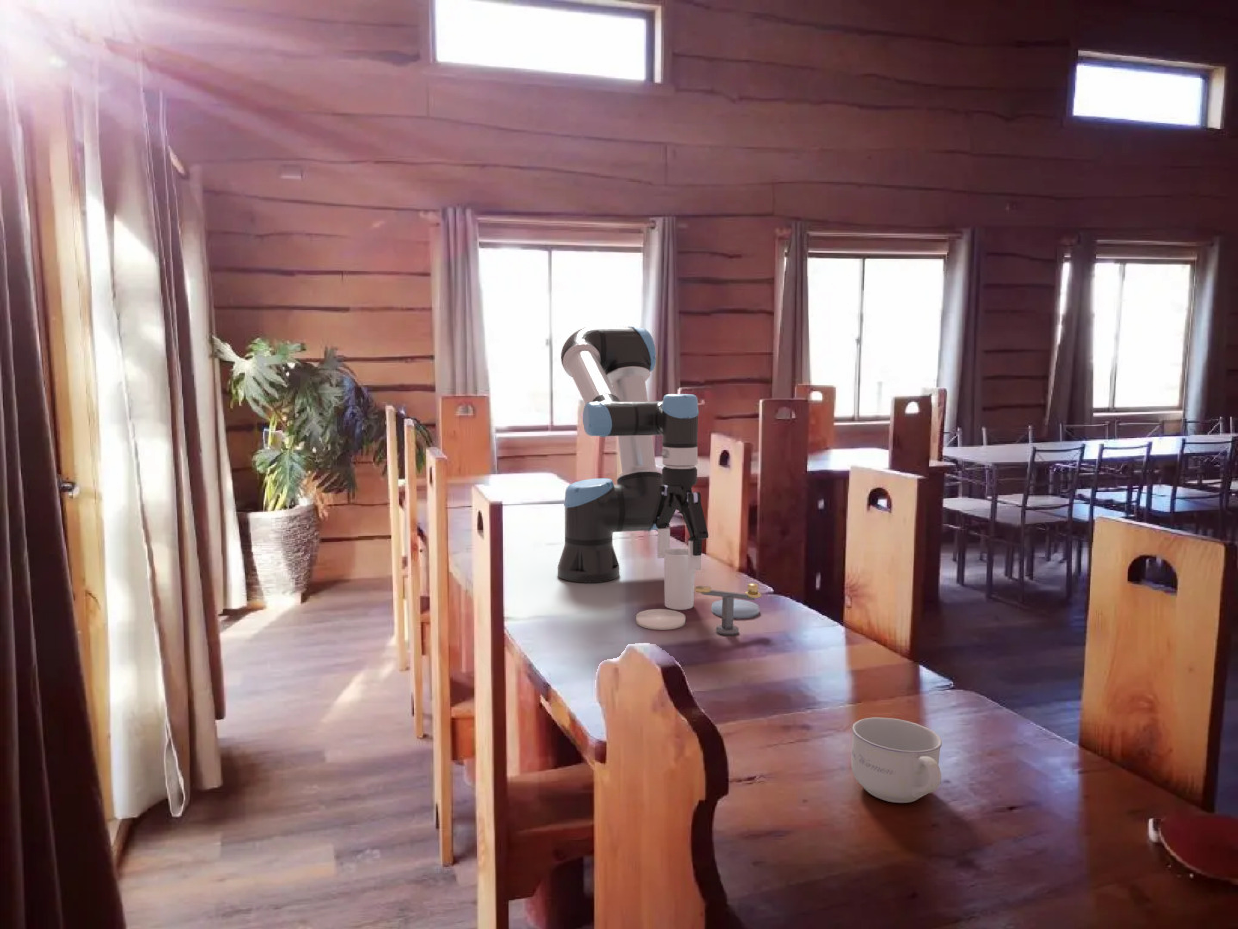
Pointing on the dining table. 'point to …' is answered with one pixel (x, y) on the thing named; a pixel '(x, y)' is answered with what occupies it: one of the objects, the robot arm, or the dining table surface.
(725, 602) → the balance
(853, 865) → the dining table surface
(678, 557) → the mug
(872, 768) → the teacup
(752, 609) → the dish blue
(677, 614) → the dish cream
